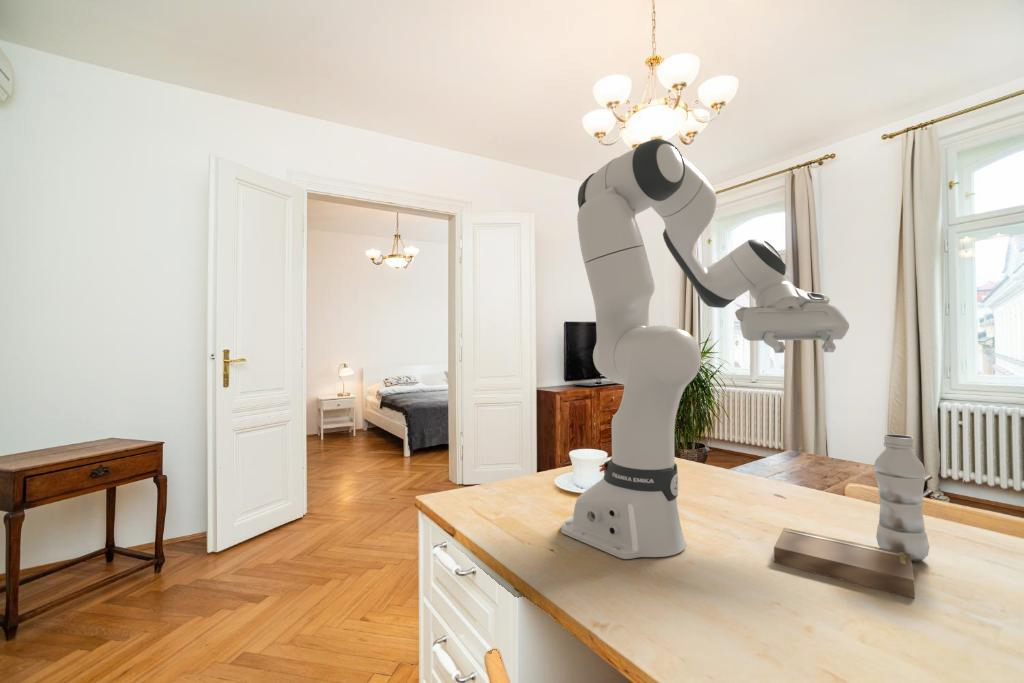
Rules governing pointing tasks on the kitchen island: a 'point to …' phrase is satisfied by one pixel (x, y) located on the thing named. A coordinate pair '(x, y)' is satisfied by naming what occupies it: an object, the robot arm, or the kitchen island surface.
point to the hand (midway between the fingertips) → (805, 350)
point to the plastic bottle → (901, 498)
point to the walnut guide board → (846, 561)
